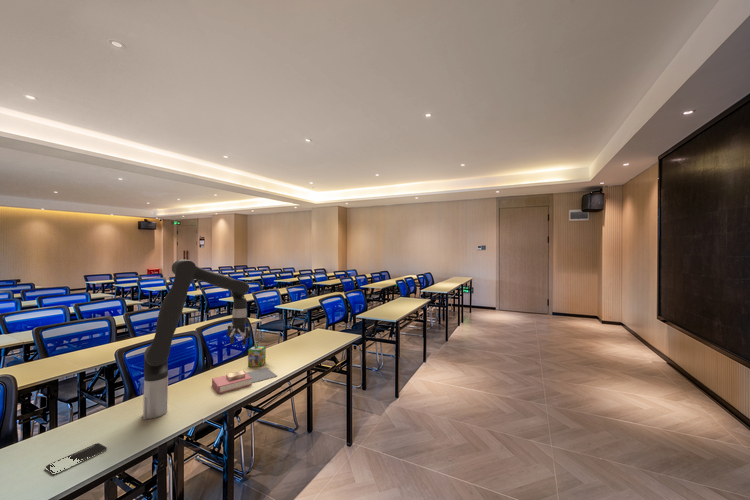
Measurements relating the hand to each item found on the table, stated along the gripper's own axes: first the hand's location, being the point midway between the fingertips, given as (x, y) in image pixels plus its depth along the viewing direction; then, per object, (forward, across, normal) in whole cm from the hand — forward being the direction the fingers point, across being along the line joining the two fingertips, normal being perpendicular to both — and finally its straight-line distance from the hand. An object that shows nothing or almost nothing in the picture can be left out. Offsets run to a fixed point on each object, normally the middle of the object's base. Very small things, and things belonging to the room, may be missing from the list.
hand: (238, 344), depth 170 cm
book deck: (+25, -6, +2) cm, 26 cm away
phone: (+27, -13, -66) cm, 72 cm away
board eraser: (+21, -4, +4) cm, 22 cm away
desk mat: (+25, 0, +20) cm, 31 cm away
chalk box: (+25, -14, +35) cm, 45 cm away
